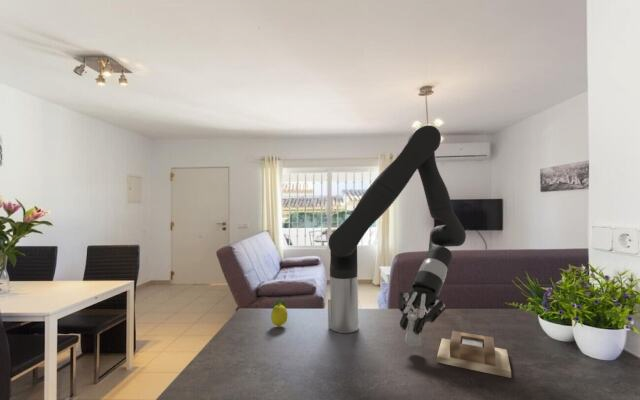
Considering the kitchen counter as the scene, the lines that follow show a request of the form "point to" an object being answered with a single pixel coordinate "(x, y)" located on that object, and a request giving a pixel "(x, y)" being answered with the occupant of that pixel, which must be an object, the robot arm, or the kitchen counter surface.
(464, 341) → the plate
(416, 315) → the rook chess piece
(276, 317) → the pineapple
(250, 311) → the kitchen counter surface
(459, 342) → the press socket
